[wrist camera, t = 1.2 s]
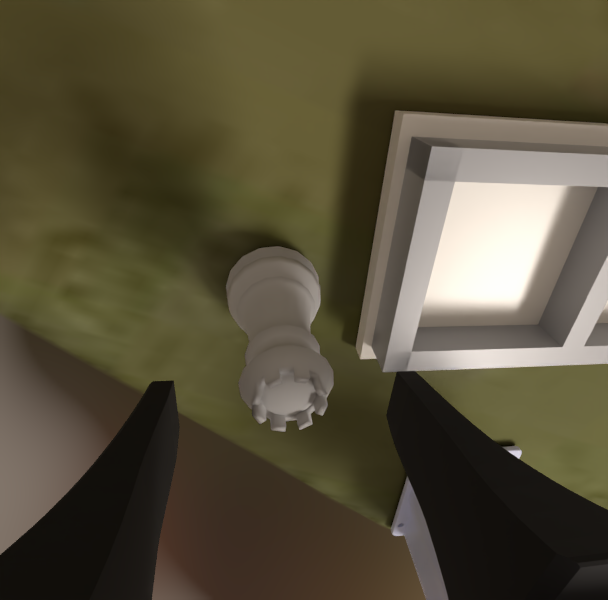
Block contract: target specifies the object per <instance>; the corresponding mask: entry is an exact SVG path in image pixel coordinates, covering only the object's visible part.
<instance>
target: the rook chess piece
mask: <svg viewBox="0 0 608 600" xmlns="http://www.w3.org/2000/svg"><path fill="white" fill-rule="evenodd" d="M226 291H227V300H228V306H229V312H230V314H231V316H232V317H233V318H234V320H235V321H236V323H237V324H238V325H239V327H240V328H241V329H243V330H244V331H245V333H246V334H248V338H249V344H248V347H247V350H246V353H245V360H246V367H245V368H244V369H243V372H242V374H241V377H240V380H239V383H238V384H239V389H240V395H241V398H242V399H243V400H244V402H245V403H246V404H247V405H248V406H249V408H250V409H252V416H253V417H254V418H255V419H256V421H257V422H258V423H259V424H261V423H263V422H264V421H266V418H268V419H270V422H271V430H274V431H281V432H285V430H286V421H292V420H297V424H298V427H299V430H301V429H303V428H306V427H308V426H310V425H312V424H313V423H312V418H311V413H313V412H314V411H315V413H316V414H319V415H322V416H323V414H324V412H325V410H326V408H327V406H328V403H327V397H328V395H329V393H330V391H331V389H332V387H333V385H334V382H333V369H332V368H331V366H330V364H329V363H328V361H327V359H326V358H325V357H323V356H322V355H320V346H319V344H318V342H317V340H316V339H315V337H314V335H312V334H311V332H310V325H311V323H312V321H313V320H314V318H315V316H316V313H317V311H318V309H319V306H320V302H321V296H320V285H319V276H318V274H317V273H316V271H315V269H314V267H313V265H312V263H311V262H310V261H309V260H308V259H307V258H305V257H304V256H303V255H301V254H300V253H299V252H297V251H295V250H291V249H287V248H284V247H280V246H275V247H265V248H259V249H257V250H255V251H253V252H251V253H249V254H247V255H245V256H243V257H242V258H241V259H240V260H239V261H238V262H237V263H236V264H235V266H234V267H233V268H232V269H231V270H230V274H229V277H228V280H227V284H226Z"/></svg>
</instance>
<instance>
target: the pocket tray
mask: <svg viewBox="0 0 608 600" xmlns="http://www.w3.org/2000/svg"><path fill="white" fill-rule="evenodd" d="M356 350H357V353H358V355H359V358H360V359H377V360H378V363H379V365H380V367H381V369H382V372H398V371H428V370H454V369H480V368H506V367H531V366H557V365H583V364H608V124H607V123H591V122H575V121H559V120H543V119H527V118H510V117H494V116H478V115H462V114H446V113H430V112H414V111H398V110H395V114H394V120H393V126H392V132H391V138H390V144H389V150H388V156H387V162H386V168H385V174H384V180H383V186H382V192H381V198H380V204H379V210H378V216H377V222H376V228H375V234H374V240H373V246H372V252H371V258H370V264H369V270H368V276H367V282H366V288H365V294H364V300H363V306H362V312H361V318H360V324H359V330H358V336H357V342H356Z"/></svg>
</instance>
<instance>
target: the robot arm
mask: <svg viewBox="0 0 608 600" xmlns="http://www.w3.org/2000/svg"><path fill="white" fill-rule="evenodd" d="M386 416H387V420H388V424H389V427H390V431H391V435H392V438H393V442H394V445H395V447H396V450H397V452H398V455H399V457H400V459H401V462H402V464H403V467H404V469H405V471H406V474H407V479H406V482H405V485H404V488H403V492H402V495H401V498H400V501H399V504H398V508H397V511H396V514H395V517H394V521H393V524H392V527H391V532H392V534H393V535H395V536H401V535H405V538H406V541H407V544H408V547H409V550H410V553H411V556H412V559H413V562H414V564H415V568H416V571H417V573H418V576H419V579H420V582H421V585H422V588H423V591H424V594H425V597H426V600H608V510H607V509H605V508H603V507H601V506H599V505H597V504H595V503H593V502H591V501H589V500H587V499H585V498H583V497H582V496H580V495H578V494H576V493H574V492H572V491H570V490H569V489H567V488H565V487H563V486H562V485H560V484H558V483H556V482H555V481H553V480H551V479H550V478H548V477H546V476H545V475H543V474H542V473H540V472H538V471H537V470H535V469H533V468H532V467H530V466H529V465H527V464H526V463H524V462H523V461H521V460H520V459H519V458H520V456H521V453H522V451H521V450H520V448H519V447H518V446H507V447H501V446H500V445H499V444H497V443H496V442H495V441H493V440H492V439H491V438H489V437H488V436H487V435H486V434H485V433H483V432H482V431H481V430H480V429H478V428H477V427H476V426H475V425H473V424H472V423H471V422H470V421H469V420H468V419H466V418H465V417H464V416H463V415H462V414H461V413H459V412H458V411H457V410H456V409H455V408H454V407H453V406H452V405H451V404H449V403H448V402H447V401H446V400H445V399H444V398H443V397H442V396H441V395H440V394H439V393H438V392H437V391H435V390H434V389H433V388H432V387H431V386H430V385H429V384H428V383H427V382H426V381H425V380H424V379H423V378H422V377H421V376H419V375H418V374H417V373H416V372H415V371H398V372H397V373H396V377H395V382H394V386H393V390H392V394H391V398H390V402H389V406H388V410H387V415H386ZM178 438H179V419H178V411H177V403H176V395H175V387H174V381H153V382H152V383H151V384H150V385H149V386H148V388H147V390H146V392H145V393H144V395H143V396H142V398H141V400H140V401H139V403H138V404H137V406H136V407H135V409H134V411H133V412H132V413H131V415H130V417H129V418H128V419H127V421H126V422H125V424H124V425H123V426H122V428H121V429H120V431H119V432H118V433H117V435H116V436H115V437H114V439H113V440H112V441H111V443H110V444H109V445H108V446H107V448H106V449H105V450H104V451H103V453H102V454H101V455H100V456H99V458H98V459H97V460H96V462H95V463H94V464H93V465H92V466H91V467H90V468H89V470H88V471H87V472H86V473H85V474H84V475H83V476H82V477H81V479H80V480H79V481H78V482H77V483H76V484H75V485H74V486H73V487H72V488H71V489H70V491H69V492H68V493H67V494H66V495H65V496H64V497H63V498H62V499H61V500H60V501H59V502H58V503H57V504H56V505H55V506H54V507H53V508H52V509H51V510H50V511H49V512H48V513H47V514H46V515H45V516H44V517H42V518H41V519H40V520H39V521H38V522H37V523H36V524H35V525H34V526H33V527H32V528H31V529H29V530H28V531H27V532H26V533H25V534H24V535H23V536H21V537H20V538H19V539H18V540H17V541H16V542H15V543H13V544H12V545H11V546H10V547H9V548H8V549H7V550H5V551H4V552H3V553H2V554H1V555H0V600H152V592H153V583H154V575H155V567H156V559H157V551H158V544H159V538H160V533H161V528H162V523H163V518H164V514H165V509H166V504H167V500H168V496H169V491H170V486H171V481H172V477H173V472H174V468H175V463H176V457H177V456H176V455H177V448H178Z"/></svg>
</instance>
